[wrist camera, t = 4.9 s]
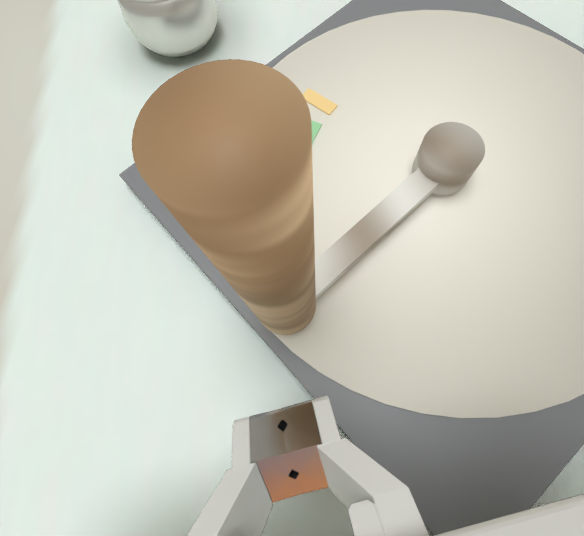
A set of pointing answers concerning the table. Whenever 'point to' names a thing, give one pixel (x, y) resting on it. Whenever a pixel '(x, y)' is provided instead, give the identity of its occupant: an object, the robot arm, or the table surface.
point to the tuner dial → (443, 251)
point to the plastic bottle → (171, 24)
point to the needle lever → (270, 183)
